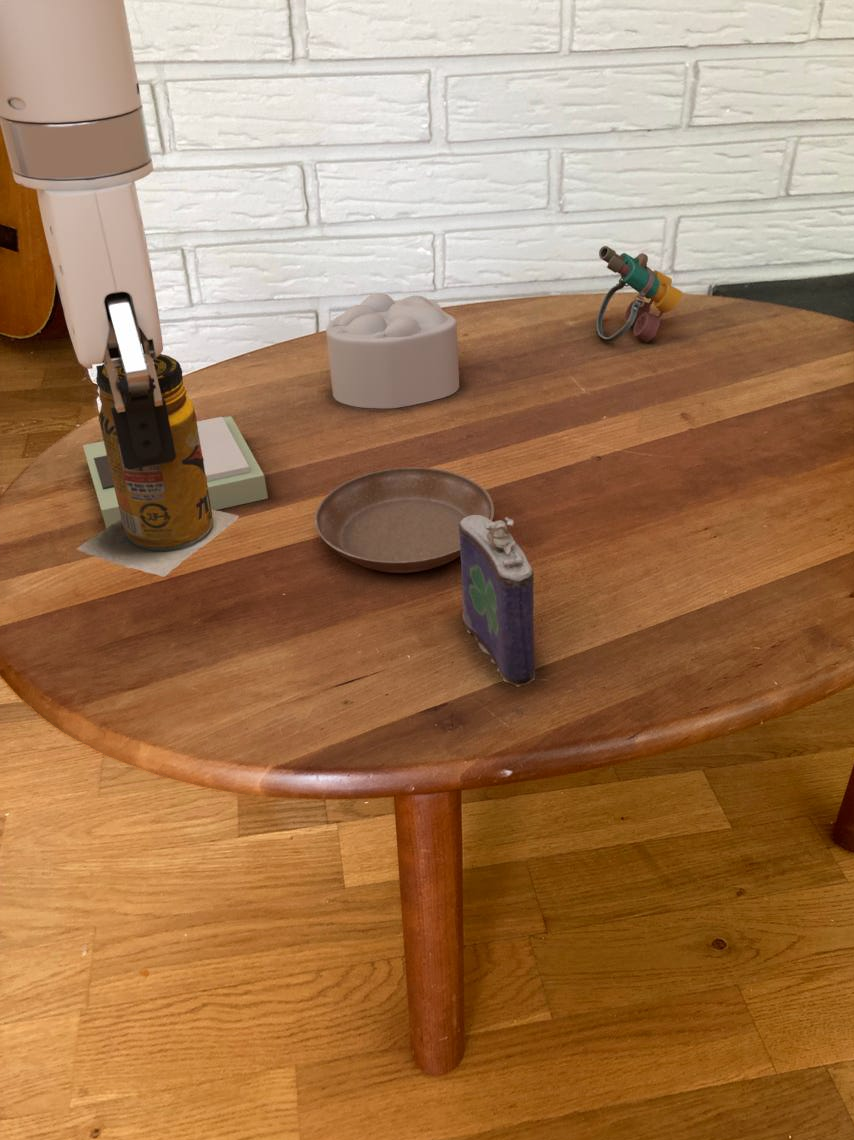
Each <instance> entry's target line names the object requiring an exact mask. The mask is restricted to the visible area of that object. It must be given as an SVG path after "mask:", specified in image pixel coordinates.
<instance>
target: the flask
mask: <svg viewBox="0 0 854 1140" xmlns="http://www.w3.org/2000/svg"><path fill="white" fill-rule="evenodd" d="M505 521H506V522H505ZM514 524H515V522H514V519H512V518H508V517H507V516H505V517H504V521H503V520H502V519H499V520H495V521H493V520H492V521H491V520H489V519H488V518H487V517H484V516H481V515H471V516H467V517H466V518H463V519H462V520H461V521H460V522H459V536H460V554H461V555H460V566H461V567H460V568H461V569H460V571H461V599H462V600H461V601H462V604H461V605H462V614H461V617H462V622H463V624H464V627H465V629H466V632H467V633H468V634H470V635H472V636H473V637H474V639H475V640H476V644H477V645H478V646H479V649H480V650H481V651H482V652H483V653H484V654H487V655H488V656H490V658H491V660H490V662H491V663H492V664H495V666H496V667H497V670H496V672H498V673H499V675H500V677H501V678H502V680H503V681H504V682H505V683H507V684H511V685H512V686H513V685H514V686H516V687H517V688H519V687H520V686H525V685H528V684H530V683H531V682H533V681H534V680H535V677H536V665H535V663H536V662H535V634H534V631H535V630H534V627H535V626H534V600H535V599H534V579H535V578H534V576H535V572H534V569H533V567H532V565H531V563H530V561H529V559H528V557H527V555H526V554H525V552H524V550H523V549H522V547H521V546H520V544H519V543H518V542H517V541H516V540H515V539H514V537H513V536H512V534H511V533H510V532H509V531H508V526H510V527H513V526H514Z"/></svg>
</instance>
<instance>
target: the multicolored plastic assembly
mask: <svg viewBox="0 0 854 1140" xmlns="http://www.w3.org/2000/svg"><path fill="white" fill-rule="evenodd" d="M598 256H599V258H600V259H601V260H602V261H604V262H605V263H607V266H606V269H608V270H610V271H611V272H613V273H615V274H616V273H618V274H619V275H620V278H619V279H618V283H616V284H615V285H613V286H612V287H611V288H610V289H609V290H608V292H607V293H606V295H605V296H604V298H603V301H602V303H601V305H600V307H599V310H598V314H597V316H596V331H597V334H598V336H599V337H600V338H602V339H604V340H605V341H607V342H615V341H616V340H618V339H620V338H621V337H622V336H624V334H626V333H627V332H628V331H629V330H630V329H631V327H633V331H632V332H633V333H632V334H633V335H634V336H635V337H637V338H638V339H640V340H641V341H643V342H644V343H649V342H650V341H651V340H653V338H654V337H655V336H656V334H657V332H658V330H659V327H660V322H661V318H662V316H663V315H664V314H666V313H670V312H671V311H672V310H674V309H675V308H676V307H677V305H679V303H680V302H681V300H682V298H683V291H682V290H680V289H678V288H676V287H675V286H673V285H672V283H673V279H672V278H671V277H669V276H667V275H666V274H664V273H661V272H660V271H658V270H656V269H654V270H652V268H650V267H649V266H648V261H649V257H648V254H646V253H643V252H641V253H639V254H638V255H637V256H634V257H632V256H631V255H629V254H628V253H626V252H623V253H620V255H619V254H618V253H617V251H616V250H614V249H613V248H611V247H609V246H607V245H603V246H601V248H600V249H599V251H598ZM625 287H631V288H632V289H633V290H635V292H637V293H638V294H636V295H634V297H633V298H632V301H631V302H630V303H629V305H628V306H627V309H626V311H625V314H624V322H625V324H624V325H623V326H622V327H621V328H620V329H619V330H618V331H617V332H616V333H614V334H613V335H612V336H609V337H607V336H605V335H604V332H603V318H604V315H605V312H606V309H607V308H608V304H609V303H610V300H611V298H613V296H614V294H616V293H617V292H618V291H620V290H622V289H623V288H625ZM636 298H637V299H636ZM645 299H647V300H649V302H646V301H645ZM652 304H653V306H654V307H655V308H656V309H657V310H658V311H659V314H658V315H656V314H653V313H650V311H651V306H652Z"/></svg>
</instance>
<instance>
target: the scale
mask: <svg viewBox="0 0 854 1140" xmlns="http://www.w3.org/2000/svg"><path fill="white" fill-rule="evenodd" d="M197 426H198V433H199V439H200V445H201V450H202V456H203V459H204V469H205V474H206V478H207V486H208V491H209V497H210V503H211V509H212V510H216V511H220V510H223V509H227V508H232V507H236V506H241V505H245V504H251V503H254V502H258V501H263V500H268V499H269V496H268V491H267V490H268V489H267V483H266V478H265V477H266V476H265V474H264V472H263V470H262V469H261V467H260V465H259V464H258V462H257V460H256V458H255V456H254V454H253V452H252V451H251V449H250V447H249V445H248V443H247V441H246V439H245V438H244V436H243V435H242V432H241V431H240V429H239V427H238V425H237V424H236V422H235V420H234V418H233V416H232V415H229V416H224V417H223V416H218V417H213V418H208V419H207V418H206V419H203V420H197ZM82 449H83V452H84V455H85V458H86V462H87V464H88V465H87V466H88V470H89V473H90V476H91V480H92V484H93V487H94V491H95V493H96V497H97V500H98V504H99V508H100V511H101V515H102V517H103V518H102V519H103V521H104V525H105V529H107V528H108V527H109V526H110V525H111V524H114V523H116V522H117V521H119V520H121V515H120V510H119V506H118V502H117V497H116V493H115V489H114V484H113V480H112V475H111V471H110V467H109V462H108V458H107V453H106V449H105V445H104V440H102V441H98V442H92V443H87V444H83V445H82Z"/></svg>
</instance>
